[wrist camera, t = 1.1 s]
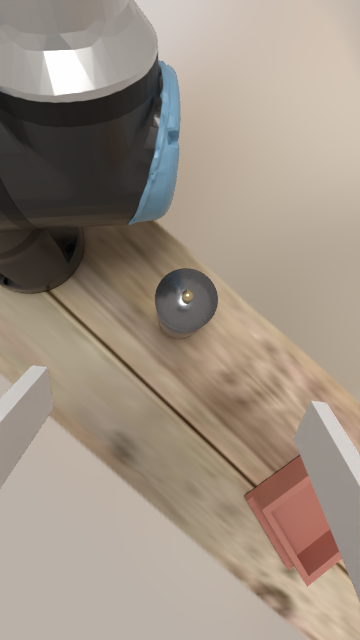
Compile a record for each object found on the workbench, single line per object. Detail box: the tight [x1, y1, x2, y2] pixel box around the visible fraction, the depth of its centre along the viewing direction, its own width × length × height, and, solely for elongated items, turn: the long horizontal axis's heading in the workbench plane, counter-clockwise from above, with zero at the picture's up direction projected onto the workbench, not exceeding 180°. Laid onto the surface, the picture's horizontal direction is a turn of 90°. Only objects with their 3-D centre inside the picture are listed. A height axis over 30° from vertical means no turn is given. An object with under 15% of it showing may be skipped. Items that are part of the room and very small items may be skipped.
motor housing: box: [155, 268, 218, 339], centre depth 30 cm, size 6×6×16 cm
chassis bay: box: [245, 456, 342, 586], centre depth 33 cm, size 10×12×4 cm
